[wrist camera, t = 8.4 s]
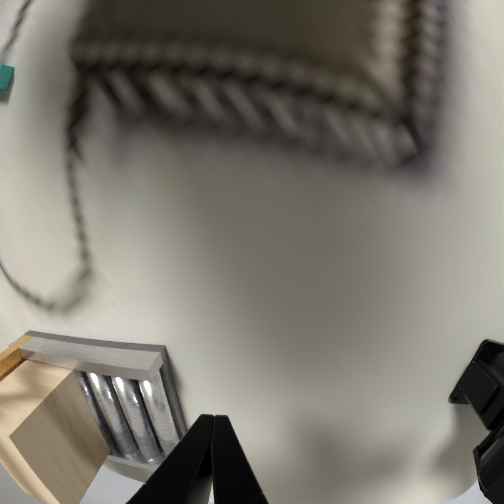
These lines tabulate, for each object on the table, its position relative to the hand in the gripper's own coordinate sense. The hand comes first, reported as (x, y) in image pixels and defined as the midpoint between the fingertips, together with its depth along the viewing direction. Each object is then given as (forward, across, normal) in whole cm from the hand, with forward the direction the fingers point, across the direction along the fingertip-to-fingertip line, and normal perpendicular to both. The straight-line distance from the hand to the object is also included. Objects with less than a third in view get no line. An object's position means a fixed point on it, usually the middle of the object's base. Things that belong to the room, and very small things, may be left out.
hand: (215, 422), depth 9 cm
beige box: (+10, +15, +13) cm, 23 cm away
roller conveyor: (+13, +12, +13) cm, 22 cm away
